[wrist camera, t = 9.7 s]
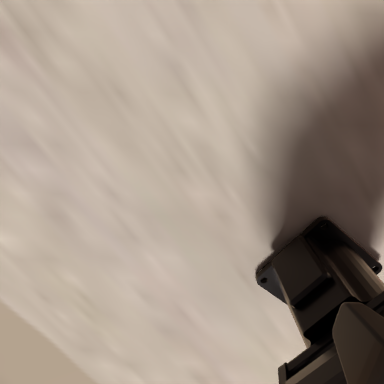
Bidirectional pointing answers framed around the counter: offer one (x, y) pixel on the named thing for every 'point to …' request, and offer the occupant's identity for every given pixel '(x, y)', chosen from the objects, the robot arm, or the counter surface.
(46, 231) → the counter surface
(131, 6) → the counter surface
